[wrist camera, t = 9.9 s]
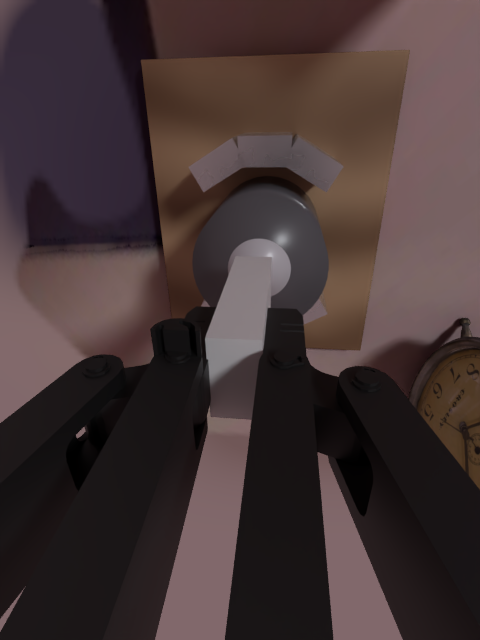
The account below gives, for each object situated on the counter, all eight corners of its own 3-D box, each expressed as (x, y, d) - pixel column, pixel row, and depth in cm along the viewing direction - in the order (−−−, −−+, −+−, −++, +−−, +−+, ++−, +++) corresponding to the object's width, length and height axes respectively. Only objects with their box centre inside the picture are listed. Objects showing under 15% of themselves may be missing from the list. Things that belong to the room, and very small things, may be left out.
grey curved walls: (202, 133, 22) (185, 136, 18) (337, 131, 21) (347, 134, 17) (212, 300, 27) (200, 328, 23) (320, 304, 26) (325, 334, 22)
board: (147, 62, 21) (140, 59, 20) (404, 52, 20) (409, 50, 19) (177, 334, 30) (174, 341, 29) (357, 343, 28) (360, 350, 27)
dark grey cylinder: (212, 178, 23) (184, 201, 17) (321, 174, 22) (333, 197, 16) (220, 277, 26) (199, 327, 20) (315, 277, 25) (324, 329, 19)
